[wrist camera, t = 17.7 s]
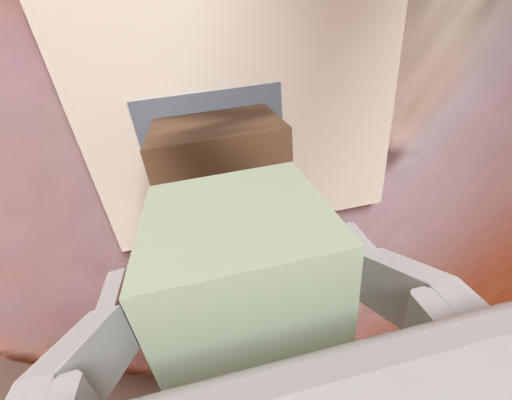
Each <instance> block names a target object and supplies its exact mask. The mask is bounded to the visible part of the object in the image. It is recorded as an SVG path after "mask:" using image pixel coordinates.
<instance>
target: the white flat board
mask: <svg viewBox="0 0 512 400" xmlns="http://www.w3.org/2000/svg"><path fill="white" fill-rule="evenodd" d="M20 3H21V5H22V7H23V10H24V12H25V15H26V17H27V20H28V22H29V25H30V27H31V30H32V32H33V34H34V37H35V39H36V42H37V44H38V47H39V49H40V52H41V54H42V57H43V59H44V61H45V64H46V66H47V69H48V71H49V74H50V76H51V79H52V81H53V84H54V86H55V88H56V91H57V93H58V96H59V98H60V101H61V103H62V106H63V108H64V111H65V113H66V115H67V118H68V120H69V123H70V125H71V128H72V130H73V133H74V135H75V138H76V140H77V142H78V145H79V147H80V150H81V152H82V155H83V157H84V160H85V162H86V165H87V167H88V169H89V172H90V174H91V177H92V179H93V182H94V184H95V187H96V189H97V192H98V194H99V196H100V199H101V201H102V204H103V206H104V209H105V211H106V214H107V216H108V219H109V221H110V223H111V226H112V228H113V231H114V233H115V236H116V238H117V241H118V243H119V246H120V248H121V250H122V252H125V251H130V250H132V247H133V243H134V239H135V236H136V232H137V228H138V224H139V220H140V217H141V213H142V209H143V205H144V202H145V198H146V194H147V190H148V186H150V183H149V180H148V177H147V173H146V170H145V167H144V164H143V160H142V157H141V154H140V149H141V146H142V144H143V142H144V139H145V137H146V134H147V132H148V130H149V127H150V125H151V123H152V120H153V119H157V118H164V117H171V116H179V115H186V114H193V113H200V112H207V111H214V110H221V109H228V108H235V107H242V106H249V105H256V104H263V103H265V104H266V105H267V106H268V107H269V108H271V109H272V110H273V111H274V112H275V113H276V114H277V115H278V116H280V117H281V118H282V119H283V120H284V121H285V122H286V123H288V124H289V125H290V126H291V127H292V145H293V163H294V164H295V165H296V166H297V168H298V169H299V170H300V171H301V172H302V173H303V175H304V176H305V177H306V178H307V179H308V180H309V182H310V183H311V184H312V185H313V186H314V187H315V189H316V190H317V191H318V192H319V193H320V194H321V196H322V197H323V198H324V199H325V200H326V201H327V203H328V204H329V205H330V206H331V207H332V209H333V210H334V211H338V210H343V209H349V208H354V207H359V206H364V205H369V204H374V203H380V202H381V198H382V191H383V183H384V176H385V168H386V161H387V154H388V146H389V139H390V131H391V124H392V117H393V109H394V102H395V94H396V87H397V79H398V72H399V65H400V57H401V50H402V42H403V35H404V27H405V20H406V13H407V5H408V0H20Z"/></svg>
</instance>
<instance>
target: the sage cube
mask: <svg viewBox="0 0 512 400" xmlns="http://www.w3.org/2000/svg"><path fill="white" fill-rule="evenodd" d="M364 248H365V246H364V245H363V244H362V242H361V241H360V240H359V239H358V238H357V237H356V235H355V234H354V233H353V232H352V231H351V230H350V228H349V227H348V226H347V225H346V224H345V223H344V221H343V220H342V219H341V218H340V217H339V216H338V214H337V213H336V212H335V211H334V210H333V209H332V207H331V206H330V205H329V204H328V203H327V201H326V200H325V199H324V198H323V197H322V196H321V194H320V193H319V192H318V191H317V190H316V189H315V187H314V186H313V185H312V184H311V183H310V182H309V180H308V179H307V178H306V177H305V176H304V175H303V173H302V172H301V171H300V170H299V169H298V168H297V166H296V165H295V164H294V163H293V162H287V163H281V164H275V165H269V166H264V167H258V168H252V169H246V170H241V171H235V172H229V173H223V174H217V175H212V176H206V177H200V178H194V179H188V180H183V181H177V182H171V183H165V184H160V185H154V186H148V190H147V194H146V198H145V202H144V205H143V209H142V213H141V217H140V220H139V224H138V228H137V232H136V236H135V239H134V243H133V247H132V251H131V255H130V258H129V262H128V266H127V270H126V274H125V277H124V281H123V285H122V289H121V292H120V296H119V302H120V304H121V306H122V308H123V310H124V312H125V315H126V317H127V319H128V321H129V323H130V325H131V328H132V330H133V332H134V334H135V336H136V338H137V340H138V343H139V345H140V347H141V349H142V351H143V353H144V356H145V358H146V360H147V362H148V364H149V366H150V368H151V371H152V373H153V375H154V377H155V379H156V381H157V383H158V386H159V388H160V390H161V391H164V390H168V389H171V388H175V387H179V386H183V385H187V384H191V383H195V382H199V381H202V380H206V379H210V378H214V377H218V376H222V375H226V374H229V373H233V372H237V371H241V370H245V369H249V368H253V367H257V366H260V365H264V364H268V363H272V362H276V361H280V360H284V359H288V358H291V357H295V356H299V355H303V354H307V353H311V352H315V351H319V350H322V349H326V348H330V347H334V346H338V345H342V344H346V343H350V342H353V341H355V336H356V326H357V316H358V307H359V297H360V287H361V278H362V268H363V258H364Z"/></svg>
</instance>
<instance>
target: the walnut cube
mask: <svg viewBox="0 0 512 400" xmlns="http://www.w3.org/2000/svg"><path fill="white" fill-rule="evenodd" d="M140 154H141V157H142V160H143V164H144V167H145V170H146V173H147V177H148V180H149V183H150V186H154V185H160V184H165V183H171V182H177V181H183V180H188V179H194V178H200V177H206V176H212V175H217V174H223V173H229V172H235V171H241V170H246V169H252V168H258V167H264V166H269V165H275V164H281V163H287V162H293V145H292V127H291V126H290V125H289V124H288V123H286V122H285V121H284V120H283V119H282V118H281V117H280V116H278V115H277V114H276V113H275V112H274V111H273V110H272V109H271V108H269V107H268V106H267V105H266V104H265V103H263V104H256V105H249V106H242V107H235V108H228V109H221V110H214V111H207V112H200V113H193V114H186V115H179V116H171V117H164V118H157V119H153V120H152V123H151V125H150V127H149V130H148V132H147V134H146V137H145V139H144V142H143V144H142V146H141V149H140Z"/></svg>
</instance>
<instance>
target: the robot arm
mask: <svg viewBox="0 0 512 400" xmlns="http://www.w3.org/2000/svg"><path fill="white" fill-rule="evenodd" d="M345 224H346V225H347V226H348V227H349V228H350V230H351V231H352V232H353V233H354V234H355V235H356V237H357V238H358V239H359V240H360V241H361V242H362V244H363V245H364V246H365V248H364V258H363V268H362V278H361V287H360V297H359V301H360V302H361V303H363V304H364V305H366V306H367V307H369V308H370V309H372V310H373V311H375V312H376V313H378V314H379V315H381V316H382V317H384V318H385V319H387V320H388V321H390V322H391V323H393V324H394V325H396V326H397V327H399V328H400V330H396V331H392V332H388V333H384V334H380V335H377V336H373V337H369V338H365V339H361V340H357V341H353V342H350V343H346V344H342V345H338V346H334V347H330V348H326V349H322V350H319V351H315V352H311V353H307V354H303V355H299V356H295V357H291V358H288V359H284V360H280V361H276V362H272V363H268V364H264V365H260V366H257V367H253V368H249V369H245V370H241V371H237V372H233V373H229V374H226V375H222V376H218V377H214V378H210V379H206V380H202V381H199V382H195V383H191V384H187V385H183V386H179V387H175V388H171V389H168V390H164V391H160V392H156V393H153V394H149V395H145V396H141V397H137V398H133V399H129V400H512V301H508V302H505V303H501V304H497V305H493V306H490V305H489V304H488V303H487V302H485V301H484V300H483V299H482V298H481V297H480V296H479V295H478V294H476V293H475V292H474V291H473V290H472V289H471V288H470V287H469V286H467V285H466V284H465V283H464V282H463V281H462V280H461V279H460V278H458V277H457V276H454V275H451V274H449V273H446V272H444V271H441V270H438V269H436V268H433V267H431V266H428V265H425V264H423V263H420V262H418V261H415V260H412V259H410V258H407V257H405V256H402V255H399V254H397V253H394V252H392V251H389V250H386V249H384V248H378V249H377V248H376V246H375V245H374V244H373V243H372V242H371V241H370V240H369V239H368V238H367V237H366V236H365V234H364V233H363V232H362V231H361V230H360V229H359V228H358V227H357V226H356V225H355V224H354V222H351V221H350V222H346V223H345ZM126 270H127V267H126V268H120V269H115V270H110V271H109V272H108V273H107V276H106V279H105V282H104V285H103V287H102V290H101V293H100V296H99V299H98V302H97V305H96V308H95V310H94V311H89V312H88V313H87V314H86V315H85V316H84V317H83V318H82V319H81V320H80V321H79V322H78V323H77V324H76V325H75V326H74V327H72V328H71V329H70V330H69V331H68V332H67V333H66V334H65V335H64V336H63V337H62V338H61V339H60V340H59V341H58V342H56V343H55V344H54V345H53V346H52V347H51V348H50V349H49V350H48V351H47V352H46V353H45V354H44V355H43V356H42V357H41V358H39V359H38V360H37V361H36V362H35V363H34V364H33V365H32V366H31V367H30V368H29V369H28V370H27V371H26V372H25V373H24V374H22V375H21V376H20V377H19V378H18V379H17V380H16V381H15V382H14V383H13V385H12V386H11V388H10V391H9V393H8V395H7V396H6V398H5V400H107V398H108V397H109V395H110V394H111V392H112V391H113V389H114V387H115V386H116V384H117V383H118V381H119V380H120V378H121V377H122V375H123V374H124V372H125V370H126V369H127V367H128V366H129V364H130V363H131V361H132V360H133V358H134V357H135V355H136V353H137V352H138V350H139V349H140V345H139V343H138V340H137V338H136V336H135V334H134V332H133V330H132V328H131V325H130V323H129V321H128V319H127V317H126V315H125V312H124V310H123V308H122V306H121V304H120V302H119V296H120V292H121V289H122V285H123V281H124V277H125V274H126Z"/></svg>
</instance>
